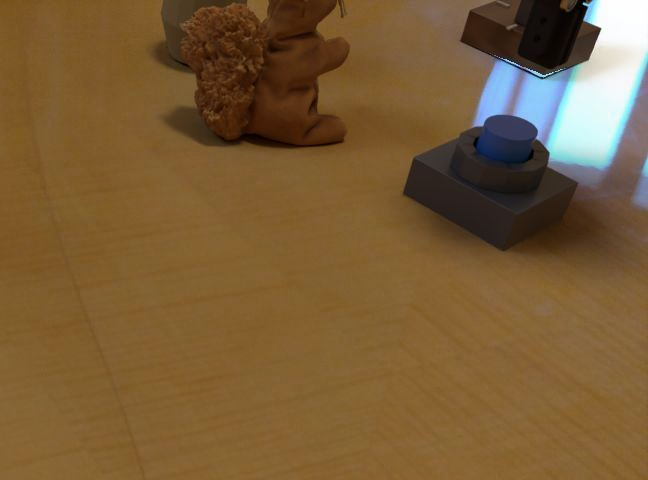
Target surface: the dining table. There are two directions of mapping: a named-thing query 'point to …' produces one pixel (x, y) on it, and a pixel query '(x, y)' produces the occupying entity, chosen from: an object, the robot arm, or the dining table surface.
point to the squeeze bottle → (184, 19)
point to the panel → (517, 35)
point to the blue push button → (507, 139)
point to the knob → (524, 11)
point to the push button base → (490, 190)
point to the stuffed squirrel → (264, 70)
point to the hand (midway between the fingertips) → (541, 59)
